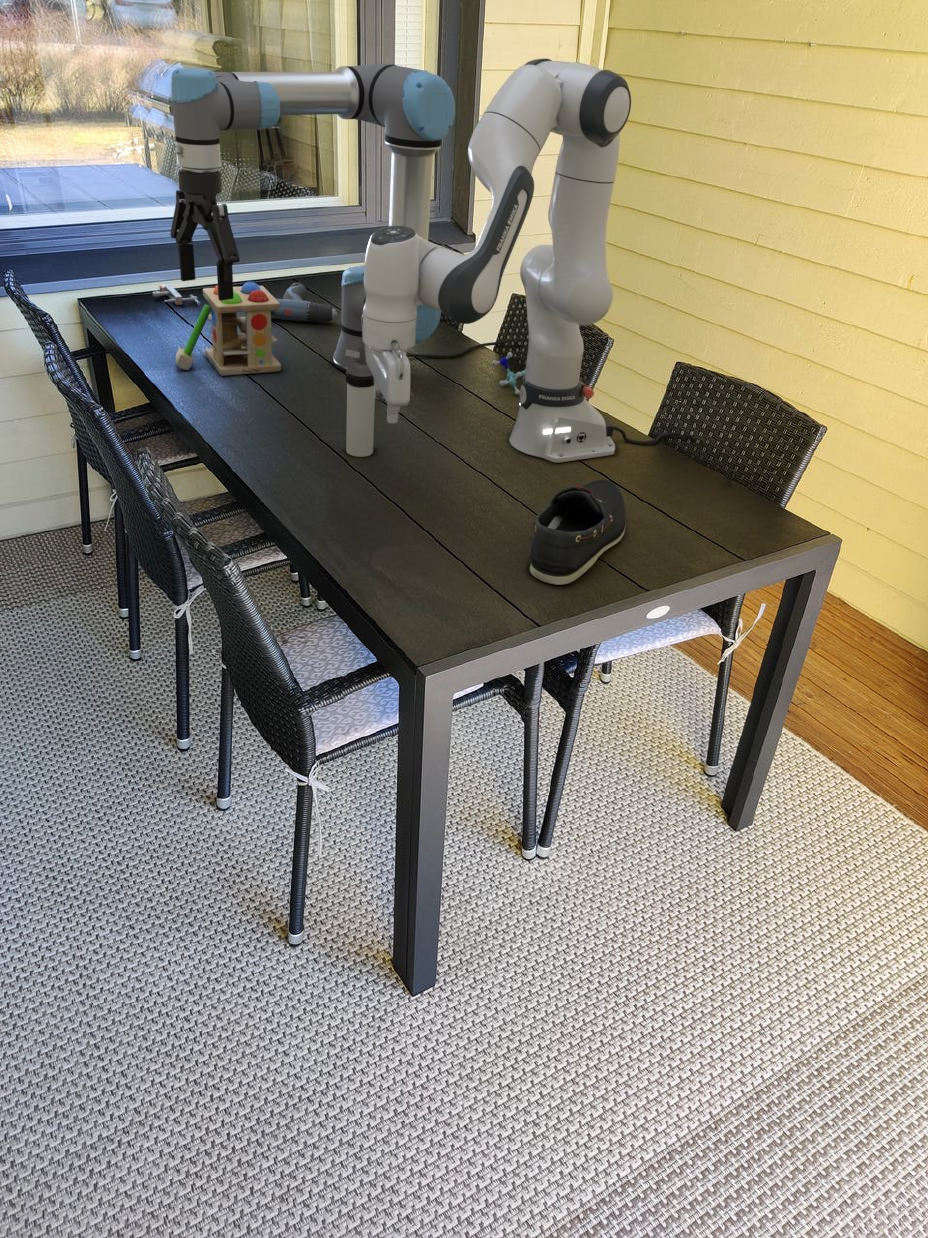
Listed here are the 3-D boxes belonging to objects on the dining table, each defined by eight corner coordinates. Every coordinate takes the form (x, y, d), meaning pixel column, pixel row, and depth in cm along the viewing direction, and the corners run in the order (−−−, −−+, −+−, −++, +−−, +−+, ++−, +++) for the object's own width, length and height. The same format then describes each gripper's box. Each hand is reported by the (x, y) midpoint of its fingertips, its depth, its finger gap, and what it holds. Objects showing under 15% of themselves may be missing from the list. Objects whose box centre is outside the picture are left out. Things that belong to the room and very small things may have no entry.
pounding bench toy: (183, 379, 220) (176, 299, 210) (169, 357, 231) (162, 280, 221) (282, 371, 230) (280, 294, 220) (264, 350, 240) (262, 276, 230)
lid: (339, 381, 189) (339, 370, 188) (359, 373, 193) (359, 363, 192) (363, 389, 186) (363, 379, 185) (383, 381, 190) (383, 371, 189)
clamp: (148, 285, 268) (184, 283, 272) (149, 293, 269) (185, 291, 274) (164, 302, 257) (201, 299, 262) (164, 310, 259) (202, 307, 263)
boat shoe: (648, 521, 183) (657, 470, 178) (567, 591, 159) (574, 534, 154) (587, 503, 189) (593, 452, 184) (499, 567, 165) (504, 512, 160)
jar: (340, 451, 197) (341, 372, 188) (357, 442, 201) (359, 366, 192) (361, 459, 195) (363, 380, 186) (378, 450, 199) (381, 373, 189)
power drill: (344, 304, 276) (335, 327, 259) (277, 298, 275) (264, 321, 258) (344, 285, 273) (335, 306, 256) (277, 279, 272) (264, 300, 255)
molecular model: (536, 387, 225) (523, 344, 224) (499, 400, 229) (485, 359, 227) (549, 385, 235) (536, 345, 234) (513, 399, 239) (500, 359, 238)
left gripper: (145, 155, 179) (155, 274, 191) (217, 183, 164) (224, 310, 176) (182, 153, 183) (190, 269, 195) (256, 180, 169) (260, 304, 181)
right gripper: (422, 353, 155) (417, 434, 162) (395, 312, 171) (391, 388, 178) (382, 353, 153) (379, 436, 161) (359, 312, 169) (357, 389, 177)
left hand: (206, 289), depth 186 cm, fingers open, 13 cm apart
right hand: (385, 410), depth 170 cm, fingers open, 8 cm apart
